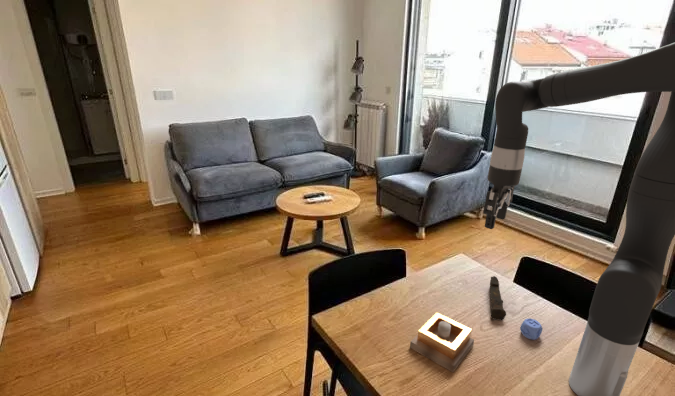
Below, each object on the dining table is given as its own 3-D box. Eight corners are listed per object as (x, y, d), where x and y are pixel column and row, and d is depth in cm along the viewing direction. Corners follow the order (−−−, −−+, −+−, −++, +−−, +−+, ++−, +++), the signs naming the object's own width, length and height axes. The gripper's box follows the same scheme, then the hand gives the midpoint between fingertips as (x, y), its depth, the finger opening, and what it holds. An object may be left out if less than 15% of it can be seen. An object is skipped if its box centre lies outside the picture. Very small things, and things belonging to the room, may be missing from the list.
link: (470, 338, 97) (471, 329, 96) (453, 359, 90) (454, 350, 89) (435, 321, 103) (436, 312, 102) (417, 339, 96) (418, 330, 95)
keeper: (473, 345, 97) (477, 324, 95) (452, 372, 89) (456, 349, 86) (432, 324, 105) (434, 304, 102) (409, 347, 96) (412, 325, 94)
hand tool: (504, 322, 107) (507, 309, 105) (489, 319, 108) (492, 306, 106) (500, 287, 123) (503, 275, 122) (487, 284, 125) (490, 273, 123)
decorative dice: (532, 341, 99) (535, 329, 98) (518, 333, 102) (521, 321, 101) (540, 336, 101) (544, 324, 100) (527, 327, 104) (530, 316, 103)
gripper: (512, 173, 85) (499, 236, 91) (530, 162, 95) (518, 219, 101) (480, 167, 90) (470, 227, 95) (500, 156, 100) (490, 211, 105)
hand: (495, 223), depth 98 cm, fingers open, 8 cm apart
